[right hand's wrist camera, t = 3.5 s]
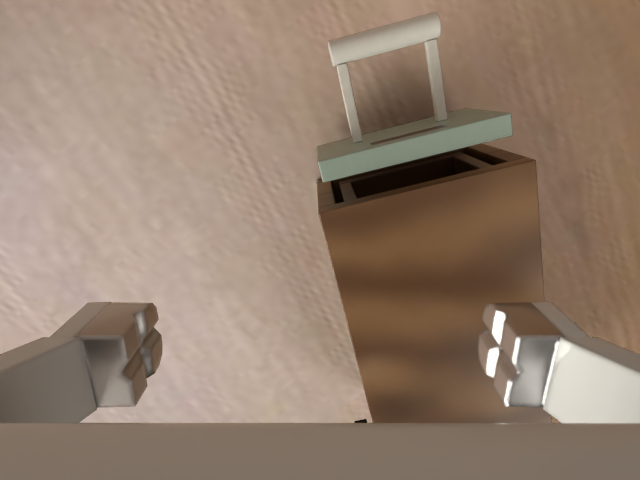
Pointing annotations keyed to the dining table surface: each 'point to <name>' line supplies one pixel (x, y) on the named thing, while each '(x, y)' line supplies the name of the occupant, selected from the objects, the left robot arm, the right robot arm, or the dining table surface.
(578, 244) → the dining table surface
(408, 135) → the drawer
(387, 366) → the cabinet
